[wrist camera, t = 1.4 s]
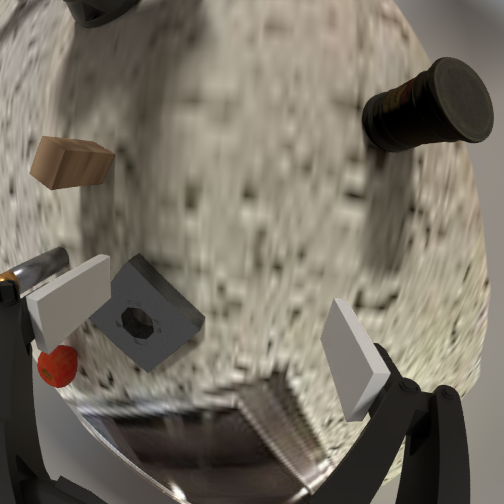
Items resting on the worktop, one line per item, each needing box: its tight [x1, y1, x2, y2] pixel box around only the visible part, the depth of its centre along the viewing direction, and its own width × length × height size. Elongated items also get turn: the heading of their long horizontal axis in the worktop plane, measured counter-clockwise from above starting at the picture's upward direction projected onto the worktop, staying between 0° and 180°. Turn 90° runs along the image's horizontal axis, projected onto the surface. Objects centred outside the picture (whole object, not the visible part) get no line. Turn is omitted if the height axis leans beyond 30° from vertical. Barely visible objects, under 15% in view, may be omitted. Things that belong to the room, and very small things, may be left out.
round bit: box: [0, 247, 69, 294], centre depth 32 cm, size 4×4×16 cm
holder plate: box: [89, 253, 205, 373], centre depth 39 cm, size 14×14×4 cm
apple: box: [37, 345, 78, 388], centre depth 40 cm, size 9×8×11 cm
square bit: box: [30, 136, 115, 190], centre depth 29 cm, size 5×5×12 cm
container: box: [362, 57, 494, 152], centre depth 23 cm, size 9×9×18 cm
